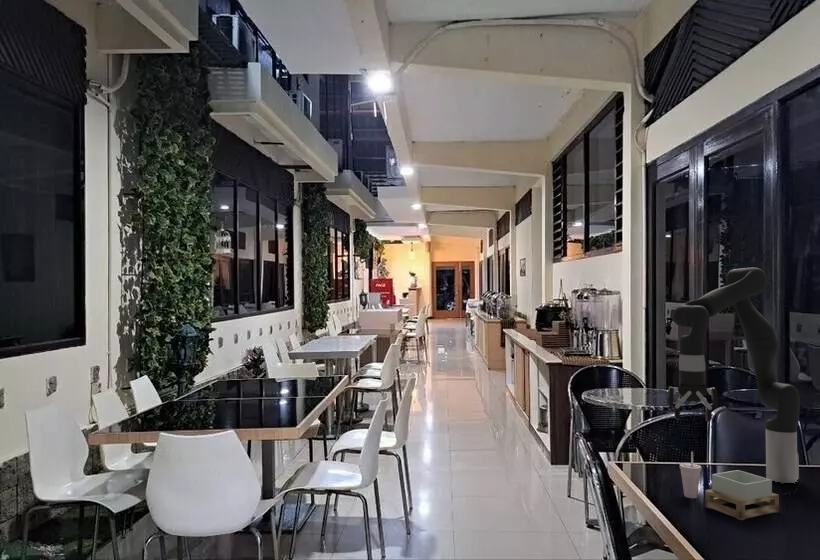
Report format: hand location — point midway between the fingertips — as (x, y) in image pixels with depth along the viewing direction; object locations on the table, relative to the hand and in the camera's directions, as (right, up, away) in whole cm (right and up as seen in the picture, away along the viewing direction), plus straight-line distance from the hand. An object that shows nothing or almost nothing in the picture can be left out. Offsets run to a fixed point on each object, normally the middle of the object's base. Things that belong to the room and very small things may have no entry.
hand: (692, 420), depth 195 cm
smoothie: (0, -25, +2) cm, 25 cm away
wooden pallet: (+10, -24, -10) cm, 28 cm away
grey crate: (+10, -19, -10) cm, 24 cm away
